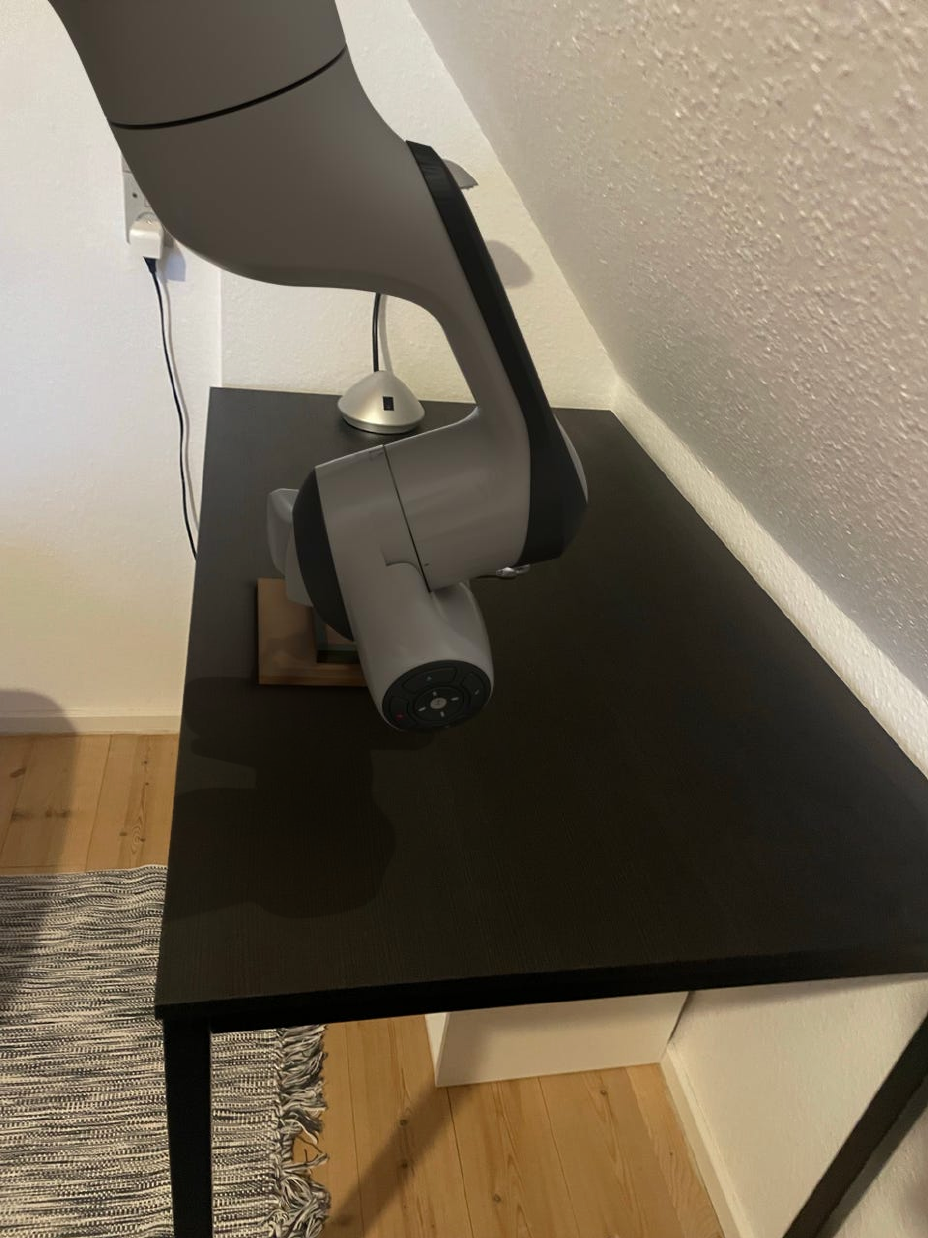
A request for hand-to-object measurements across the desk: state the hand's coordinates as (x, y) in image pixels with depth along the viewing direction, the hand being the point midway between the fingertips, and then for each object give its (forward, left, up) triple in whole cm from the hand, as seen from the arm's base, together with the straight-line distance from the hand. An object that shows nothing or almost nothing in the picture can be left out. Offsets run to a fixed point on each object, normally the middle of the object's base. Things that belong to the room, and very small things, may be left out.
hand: (383, 488), depth 82 cm
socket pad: (0, 0, -16) cm, 16 cm away
